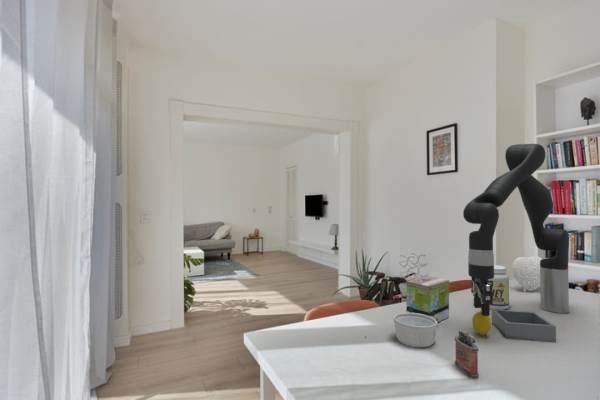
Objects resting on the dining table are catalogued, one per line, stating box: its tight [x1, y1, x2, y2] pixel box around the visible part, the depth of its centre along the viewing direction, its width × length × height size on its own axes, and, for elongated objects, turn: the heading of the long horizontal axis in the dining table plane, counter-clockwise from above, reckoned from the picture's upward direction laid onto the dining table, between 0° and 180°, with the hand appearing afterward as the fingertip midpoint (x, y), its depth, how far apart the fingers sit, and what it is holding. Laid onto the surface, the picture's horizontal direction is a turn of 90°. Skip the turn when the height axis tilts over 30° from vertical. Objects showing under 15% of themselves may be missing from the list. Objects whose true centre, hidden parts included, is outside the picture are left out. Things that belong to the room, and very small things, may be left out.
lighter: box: [454, 329, 480, 379], centre depth 86 cm, size 8×3×10 cm, turn 5°
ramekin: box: [393, 312, 438, 349], centre depth 105 cm, size 13×13×7 cm
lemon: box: [471, 310, 492, 336], centre depth 109 cm, size 6×6×8 cm
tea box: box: [405, 276, 450, 323], centre depth 125 cm, size 15×10×15 cm, turn 131°
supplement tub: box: [481, 264, 510, 310], centre depth 140 cm, size 12×12×17 cm
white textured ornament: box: [511, 255, 543, 293], centre depth 164 cm, size 18×11×17 cm, turn 108°
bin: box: [491, 309, 557, 343], centre depth 112 cm, size 14×14×5 cm
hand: (481, 311), depth 109 cm, fingers open, 8 cm apart
